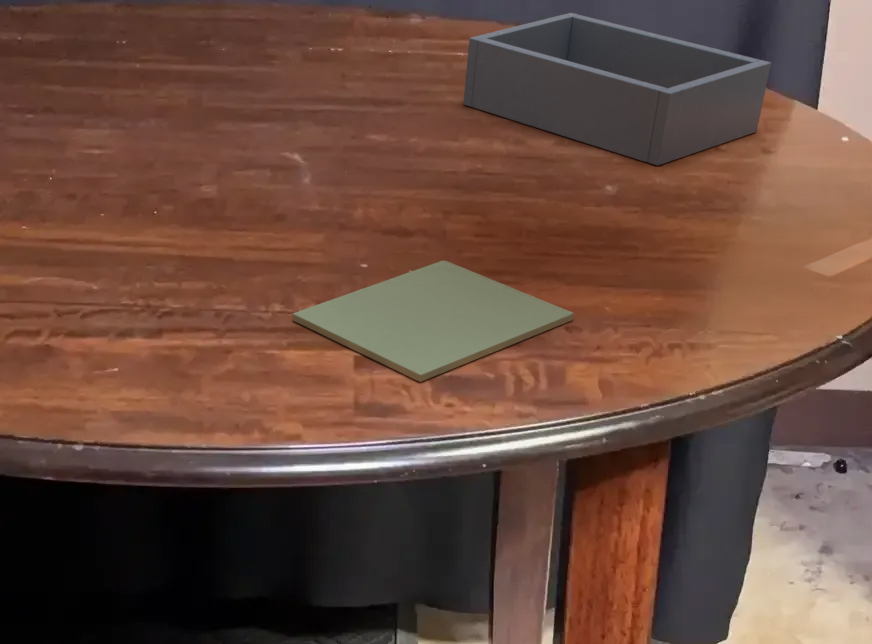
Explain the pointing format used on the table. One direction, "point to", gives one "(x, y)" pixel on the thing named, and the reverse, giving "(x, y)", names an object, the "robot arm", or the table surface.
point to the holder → (616, 86)
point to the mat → (432, 319)
